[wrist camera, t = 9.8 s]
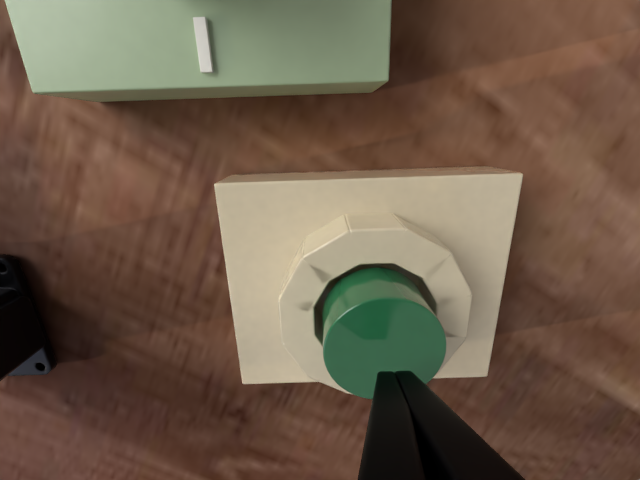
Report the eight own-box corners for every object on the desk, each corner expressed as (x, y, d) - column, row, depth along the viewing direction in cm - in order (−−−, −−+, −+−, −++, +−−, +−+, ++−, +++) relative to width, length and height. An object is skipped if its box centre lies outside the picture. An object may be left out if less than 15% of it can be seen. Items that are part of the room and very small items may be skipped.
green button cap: (323, 357, 12) (324, 402, 10) (320, 268, 10) (321, 299, 9) (420, 354, 12) (441, 399, 10) (428, 265, 10) (453, 296, 8)
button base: (252, 348, 16) (230, 424, 12) (231, 174, 13) (191, 194, 9) (463, 341, 16) (514, 416, 12) (488, 165, 13) (567, 181, 9)
